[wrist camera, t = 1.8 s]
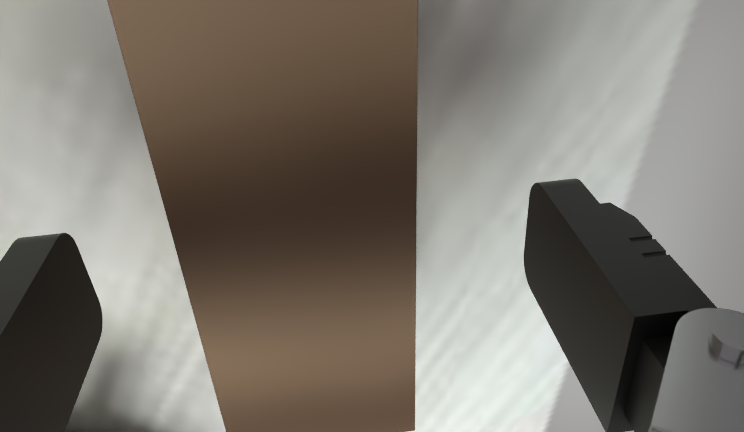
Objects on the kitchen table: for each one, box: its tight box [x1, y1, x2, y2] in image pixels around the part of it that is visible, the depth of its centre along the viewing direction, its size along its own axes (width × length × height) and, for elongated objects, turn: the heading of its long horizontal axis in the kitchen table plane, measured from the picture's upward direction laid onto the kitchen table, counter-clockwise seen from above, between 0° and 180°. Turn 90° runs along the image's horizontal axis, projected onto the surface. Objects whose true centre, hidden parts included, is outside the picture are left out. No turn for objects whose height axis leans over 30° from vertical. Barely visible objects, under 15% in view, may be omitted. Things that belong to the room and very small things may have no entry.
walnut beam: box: [107, 0, 418, 432], centre depth 13 cm, size 14×4×6 cm, turn 2°
